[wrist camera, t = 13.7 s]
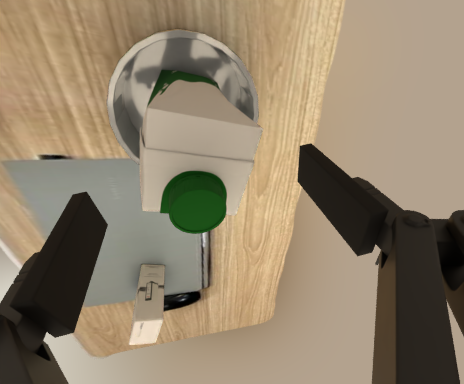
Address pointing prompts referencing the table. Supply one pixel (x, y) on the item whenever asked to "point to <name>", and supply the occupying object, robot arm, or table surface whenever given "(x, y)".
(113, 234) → the table surface
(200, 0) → the table surface
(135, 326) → the ink box
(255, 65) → the table surface
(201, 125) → the soya milk
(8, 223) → the table surface
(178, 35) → the steel tub
